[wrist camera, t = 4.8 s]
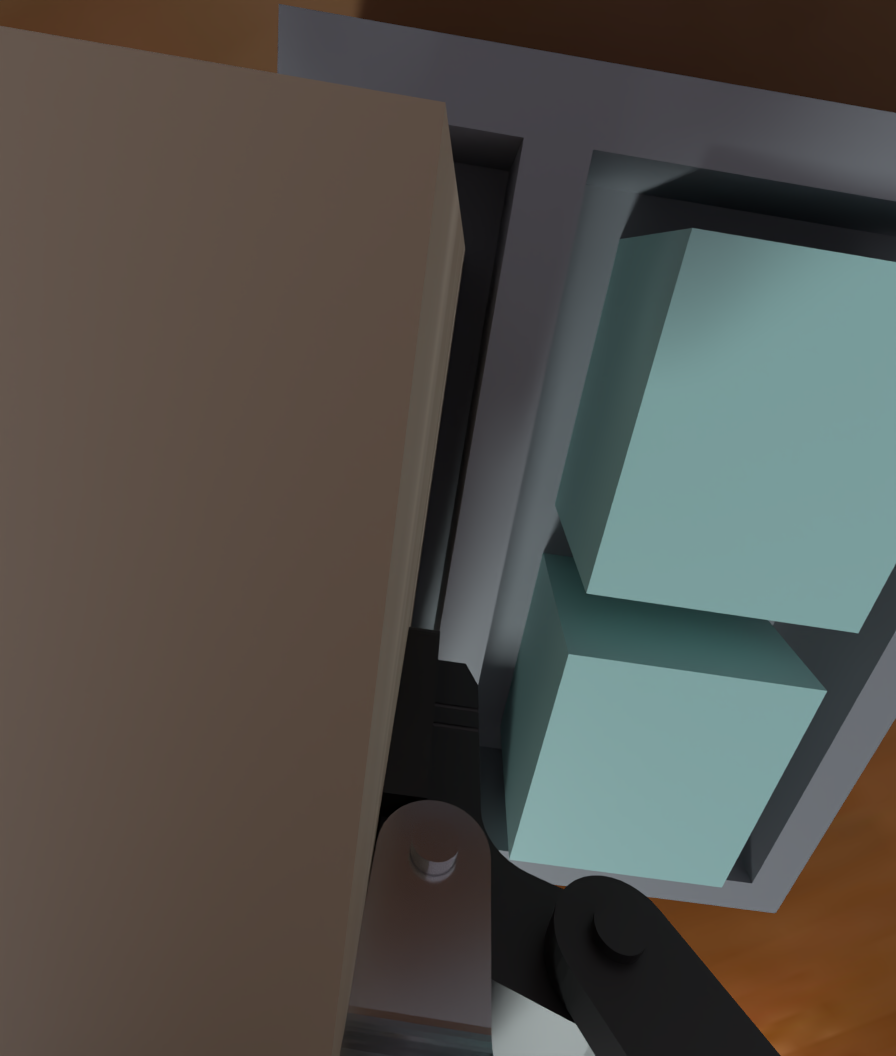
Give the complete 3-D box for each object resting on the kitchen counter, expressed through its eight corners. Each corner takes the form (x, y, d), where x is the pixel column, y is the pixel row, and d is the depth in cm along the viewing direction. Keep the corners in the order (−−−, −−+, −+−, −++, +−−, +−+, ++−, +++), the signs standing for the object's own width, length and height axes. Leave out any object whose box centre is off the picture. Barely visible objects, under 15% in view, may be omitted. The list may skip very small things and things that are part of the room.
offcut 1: (554, 504, 17) (586, 593, 12) (619, 239, 14) (691, 227, 9) (755, 534, 17) (858, 633, 13) (859, 279, 14) (1044, 287, 10)
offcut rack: (305, 722, 22) (261, 846, 18) (343, 92, 14) (278, 4, 9) (711, 778, 23) (775, 913, 18) (981, 201, 14) (1231, 171, 10)
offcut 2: (500, 727, 20) (509, 859, 16) (542, 552, 18) (569, 654, 13) (666, 750, 21) (722, 887, 16) (735, 581, 18) (827, 691, 13)
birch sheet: (352, 698, 20) (139, 1515, 7) (398, 239, 14) (-497, -64, 1) (399, 705, 20) (274, 1526, 7) (465, 250, 14) (442, 105, 1)
